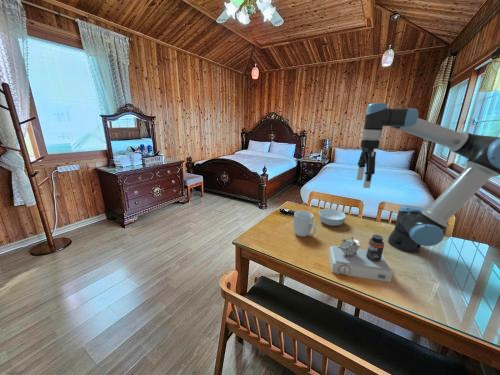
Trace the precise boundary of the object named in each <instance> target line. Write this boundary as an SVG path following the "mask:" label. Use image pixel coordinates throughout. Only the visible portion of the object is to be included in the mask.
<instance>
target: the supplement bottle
mask: <svg viewBox="0 0 500 375" xmlns="http://www.w3.org/2000/svg"><path fill="white" fill-rule="evenodd" d="M383 240H384V238H383V236H382V235H380V234H376V233H375V234H372V237H371V238H370V239H369V240H368V245H367V254H366V257H367V258H368V259H369V260H371V261H375V262H378V261H380V260H381V256H382V254H383V252H384V247H385V242H384V241H383Z"/></svg>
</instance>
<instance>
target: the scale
mask: <svg viewBox="0 0 500 375" xmlns="http://www.w3.org/2000/svg"><path fill="white" fill-rule="evenodd" d="M340 246H341V245H333V244H332V245H331V246H329V249H328V259H329V264H330V271H331V273H333V274H338V275H344V276H350V277H355V278H362V279H368V280H373V281H380V282H387V283H391V282H392V278H393V275H394V272H393V271H392V268H391V267H390V265H389V263H388V261H387V260H386V257H385V256H384V255H383V253H382V256H381V260H380V261H378V262H375V261H371V260H369V259H368V258H367V257H366V254H367V250H366V249H359V248H358V250H357V252H356V254H357V255H356V254H355V255H353V254H352V255H347V257H345V256H346V255H345V254H344V252H343V251H342V250H341V249H340V248H338V247H340Z"/></svg>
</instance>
